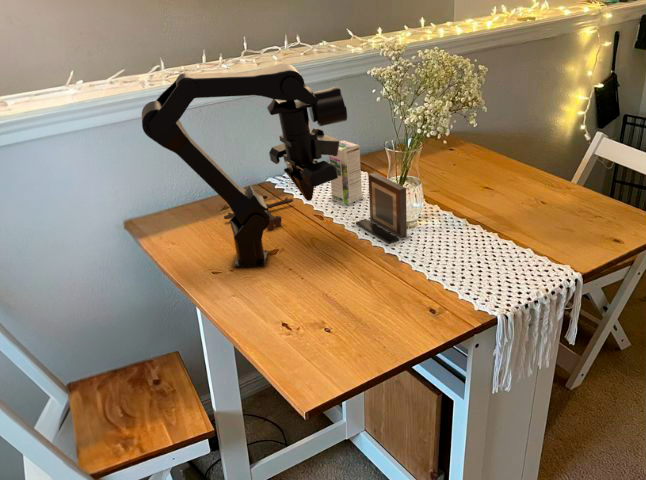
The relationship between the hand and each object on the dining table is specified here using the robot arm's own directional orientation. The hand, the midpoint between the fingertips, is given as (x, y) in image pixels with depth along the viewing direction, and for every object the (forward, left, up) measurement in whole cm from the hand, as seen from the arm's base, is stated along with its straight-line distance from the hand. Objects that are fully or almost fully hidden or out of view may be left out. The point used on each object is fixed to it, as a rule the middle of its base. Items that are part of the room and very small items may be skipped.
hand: (309, 199), depth 145 cm
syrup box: (+25, -7, -12) cm, 29 cm away
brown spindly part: (+16, +13, -12) cm, 24 cm away
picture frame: (+7, -17, -12) cm, 22 cm away
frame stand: (+5, -14, -12) cm, 19 cm away
